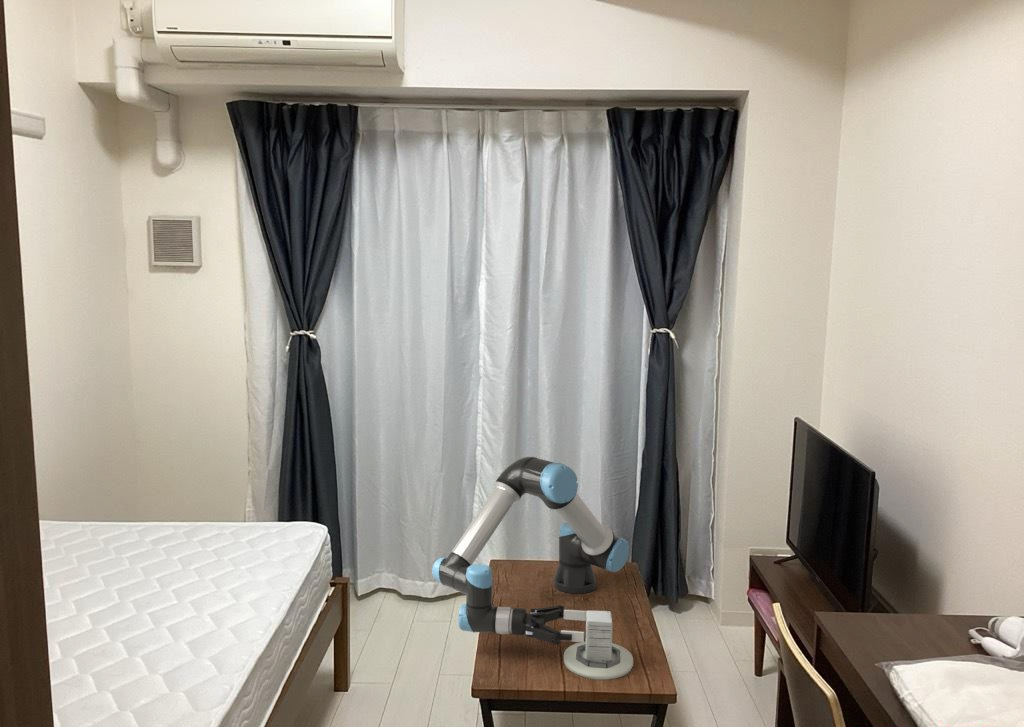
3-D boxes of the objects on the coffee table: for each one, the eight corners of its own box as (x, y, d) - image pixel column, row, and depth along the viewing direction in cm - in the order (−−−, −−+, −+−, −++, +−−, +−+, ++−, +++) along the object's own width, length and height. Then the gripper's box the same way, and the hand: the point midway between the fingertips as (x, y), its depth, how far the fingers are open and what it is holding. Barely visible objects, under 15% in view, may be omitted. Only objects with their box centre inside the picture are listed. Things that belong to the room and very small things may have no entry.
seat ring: (577, 645, 238) (577, 641, 238) (620, 648, 236) (620, 644, 236) (575, 666, 226) (575, 662, 225) (620, 669, 224) (620, 665, 224)
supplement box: (584, 650, 235) (586, 609, 233) (610, 651, 234) (611, 610, 233) (585, 663, 227) (586, 620, 226) (611, 664, 227) (613, 622, 225)
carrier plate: (566, 642, 242) (566, 638, 242) (632, 648, 240) (632, 643, 239) (561, 676, 223) (561, 671, 222) (633, 682, 220) (633, 677, 220)
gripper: (516, 614, 245) (586, 619, 243) (506, 653, 221) (582, 659, 218) (517, 591, 245) (586, 596, 242) (506, 628, 220) (583, 633, 217)
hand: (585, 626), depth 230 cm, fingers open, 13 cm apart
